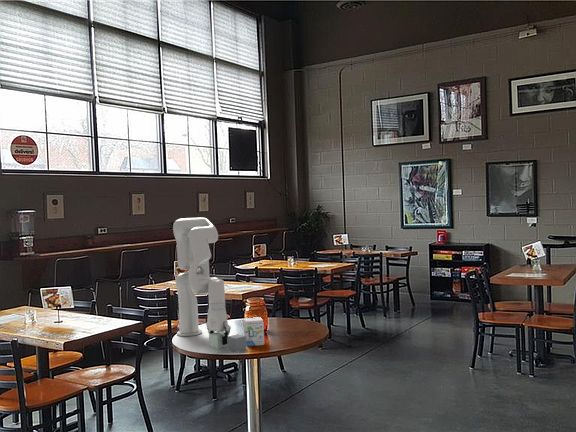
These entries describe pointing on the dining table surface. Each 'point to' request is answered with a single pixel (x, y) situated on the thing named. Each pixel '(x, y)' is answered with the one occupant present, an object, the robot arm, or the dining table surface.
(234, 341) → the slate block
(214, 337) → the sage block
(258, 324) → the ink box
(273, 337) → the dining table surface
